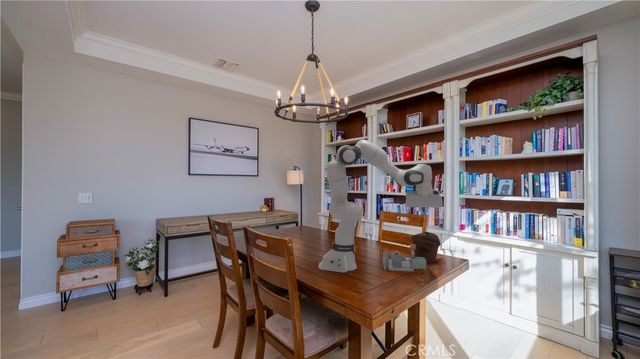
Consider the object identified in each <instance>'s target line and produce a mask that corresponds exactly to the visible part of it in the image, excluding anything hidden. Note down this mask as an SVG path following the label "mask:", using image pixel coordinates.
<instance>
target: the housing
mask: <svg viewBox="0 0 640 359" xmlns="http://www.w3.org/2000/svg"><path fill="white" fill-rule="evenodd" d="M402 258H403V255H402V252H400V251H399V250H395V251H391V259H392V264H393V265H395V266H402Z"/></svg>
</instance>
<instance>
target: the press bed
mask: <svg viewBox="0 0 640 359" xmlns="http://www.w3.org/2000/svg"><path fill="white" fill-rule="evenodd" d="M382 256H383V258H382V265H383V269H384V271H397V272H398V271H399V272H400V271H401V272H414V270H415V269H413V267H412V265H411V263H410V261H402V266H395V265H393V264H392V258H389V256H388V252H387V251H383V254H382Z"/></svg>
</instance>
